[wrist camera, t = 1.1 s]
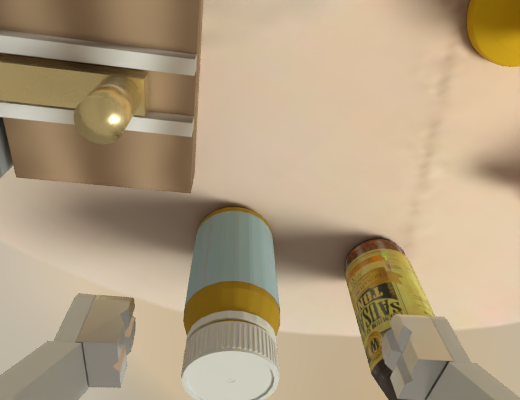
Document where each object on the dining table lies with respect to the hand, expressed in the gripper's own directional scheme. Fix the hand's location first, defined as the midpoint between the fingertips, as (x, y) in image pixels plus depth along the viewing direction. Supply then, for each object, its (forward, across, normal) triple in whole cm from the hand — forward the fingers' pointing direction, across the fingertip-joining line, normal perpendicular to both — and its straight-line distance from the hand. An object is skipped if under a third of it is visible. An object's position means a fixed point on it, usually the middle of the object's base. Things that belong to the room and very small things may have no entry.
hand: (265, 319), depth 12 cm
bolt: (+19, +11, 0) cm, 22 cm away
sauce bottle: (+22, -14, +16) cm, 31 cm away
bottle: (+22, 0, +14) cm, 26 cm away
